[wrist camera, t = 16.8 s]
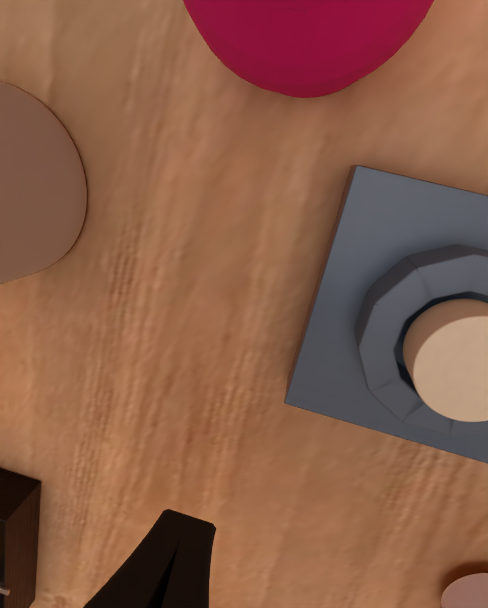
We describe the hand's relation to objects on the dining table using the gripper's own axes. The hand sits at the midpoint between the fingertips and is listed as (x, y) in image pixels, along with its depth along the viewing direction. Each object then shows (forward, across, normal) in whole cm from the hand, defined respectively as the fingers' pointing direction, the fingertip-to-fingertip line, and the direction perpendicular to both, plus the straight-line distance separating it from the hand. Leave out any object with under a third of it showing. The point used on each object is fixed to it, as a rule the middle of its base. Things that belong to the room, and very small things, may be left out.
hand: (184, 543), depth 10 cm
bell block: (+10, -7, -5) cm, 13 cm away
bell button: (+6, -7, -5) cm, 11 cm away
